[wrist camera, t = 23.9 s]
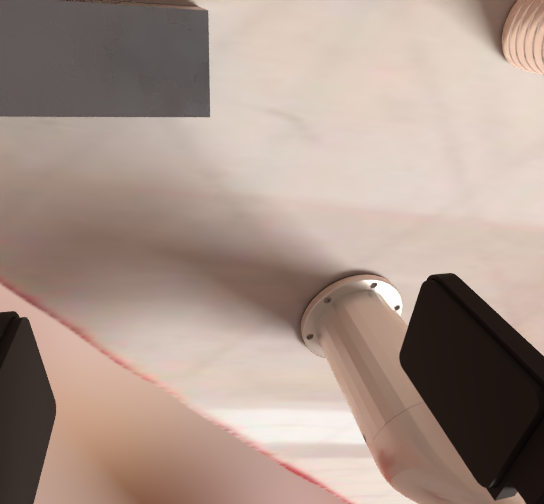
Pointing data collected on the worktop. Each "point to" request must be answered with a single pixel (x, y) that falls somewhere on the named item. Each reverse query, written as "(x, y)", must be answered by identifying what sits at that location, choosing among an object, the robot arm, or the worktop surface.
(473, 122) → the worktop surface
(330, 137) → the worktop surface
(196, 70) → the housing
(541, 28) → the water bottle
